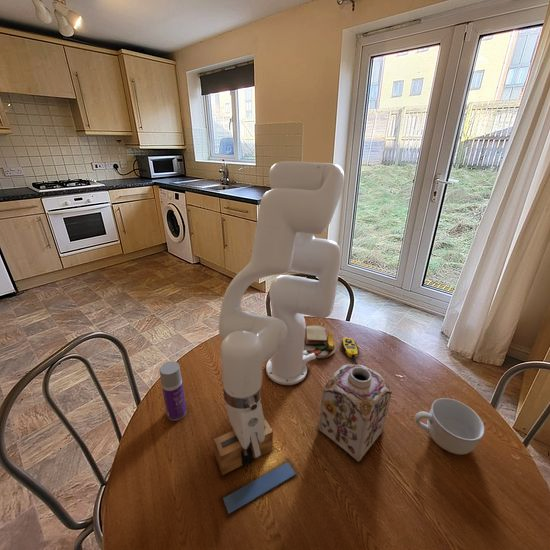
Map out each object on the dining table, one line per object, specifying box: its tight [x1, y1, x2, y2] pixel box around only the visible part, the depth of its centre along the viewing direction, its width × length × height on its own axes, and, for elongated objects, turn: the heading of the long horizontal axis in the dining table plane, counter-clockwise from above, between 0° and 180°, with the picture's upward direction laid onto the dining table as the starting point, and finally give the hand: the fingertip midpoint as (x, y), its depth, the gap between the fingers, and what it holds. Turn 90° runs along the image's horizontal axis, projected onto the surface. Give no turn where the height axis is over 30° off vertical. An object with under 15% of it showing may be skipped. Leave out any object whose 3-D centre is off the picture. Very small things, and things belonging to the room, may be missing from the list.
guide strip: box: [222, 461, 297, 515], centre depth 59 cm, size 15×3×1 cm, turn 119°
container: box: [159, 360, 187, 421], centre depth 72 cm, size 5×5×15 cm
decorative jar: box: [318, 363, 393, 462], centre depth 68 cm, size 12×12×18 cm
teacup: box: [414, 397, 486, 455], centre depth 69 cm, size 14×11×8 cm
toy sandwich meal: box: [304, 325, 337, 359], centre depth 100 cm, size 12×14×5 cm
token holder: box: [213, 417, 274, 476], centre depth 64 cm, size 12×4×6 cm, turn 119°
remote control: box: [341, 337, 359, 365], centre depth 97 cm, size 5×2×15 cm
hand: (244, 450), depth 65 cm, fingers closed on token holder, 4 cm apart
